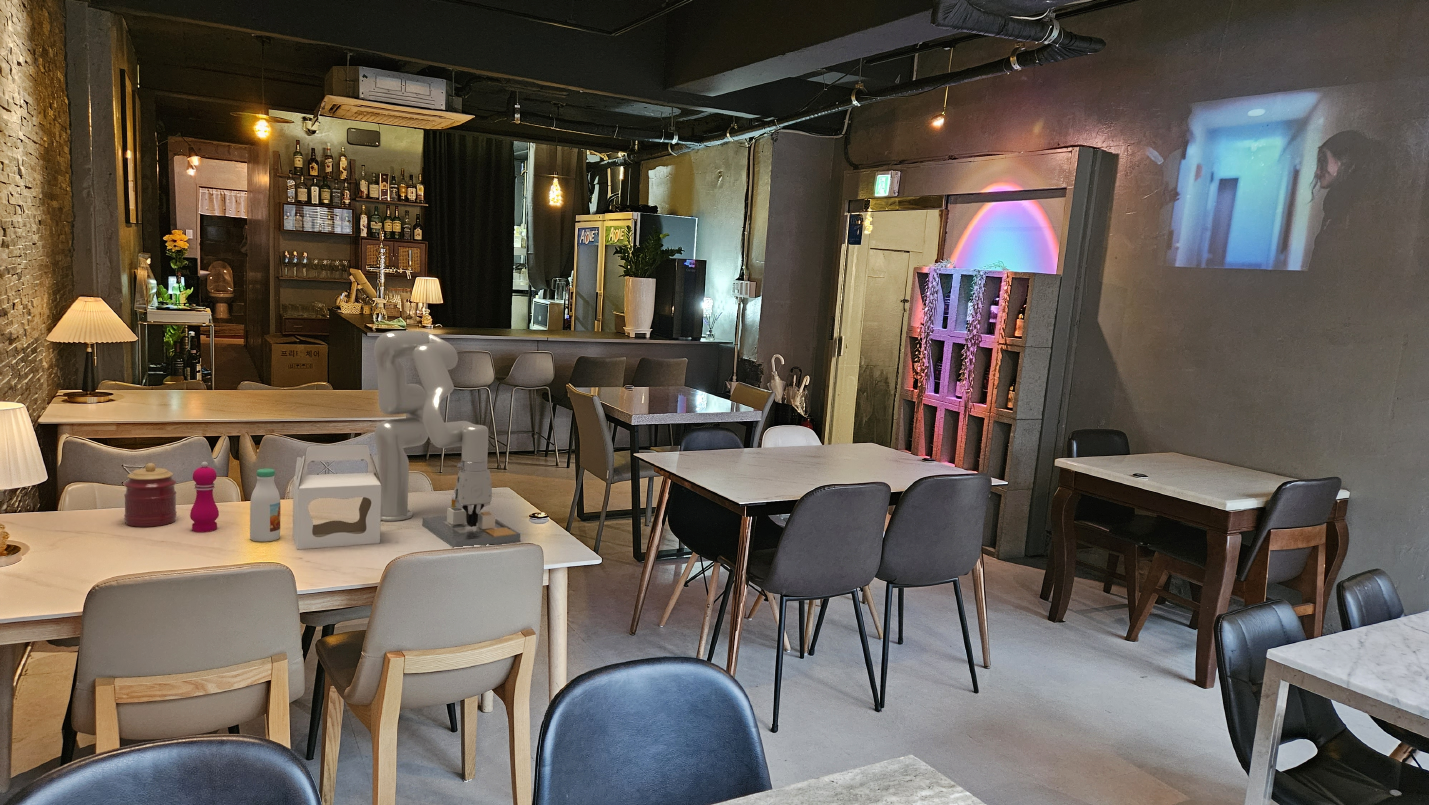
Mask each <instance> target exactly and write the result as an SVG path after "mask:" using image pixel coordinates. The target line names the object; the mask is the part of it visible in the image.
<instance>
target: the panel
mask: <svg viewBox="0 0 1429 805" xmlns="http://www.w3.org/2000/svg"><path fill="white" fill-rule="evenodd" d="M466 519H467V514H466ZM421 520H422V521H421V522H422V523H421V525H422V527H424V528H425V529H427V530H428V531H429V532H431V533H432V534H433V535H435V536H436V537H437V538H439V539H440V540H442V541H443V542H444V543H445V544H448V545H449V546H450V547H451V548H453V547H463V546H474V545H487V544H497V545H501V544H500V543H505V544H511V543H510V542H513V543H520V542H521V533H520V532H519V531H517V530H515V529H514V528H511V527H510V526H508V525H506V524H504V523H503V522H501V521H500V520H498V519H496V518H495V528H489V529H481V528H480V527H478V526H476V527H474V526H473V527H470V526H469V525H468V524H467V522H466V523H465V524H455V525H453V524H451V523H450V522H448V521H447V514H446V515H439V516H427V517H422V519H421Z"/></svg>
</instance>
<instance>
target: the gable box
mask: <svg viewBox="0 0 1429 805" xmlns="http://www.w3.org/2000/svg"><path fill="white" fill-rule="evenodd" d="M305 450H306V452H305V455H303V456H302V457H301V456H297V457H296V461H295V462H296V463H295V471H294V472H295V473H294V476H293V482H292V483H293V490H292V492H293V494H292V495H293V497H292V498H293V499H292V538H293V542H294V544H295V547H296V549H297V550H308V549H309V550H310V549H321V548H324V549H325V548H336V547H337V548H338V547H351V546H359V545H360V546H361V545H362V546H363V545H376V544H381V521H382V520H381V488H382V484H381V482H380V479H379V476H378V473H379V468H378V455H377V454H373V455H372V453H370V447H369V445H368V444H364V443H362V444H361V443H360V444H324V445H323V444H319V445H316V444H315V445H313V444H312V445H308V446H307V447H306V449H305ZM337 461H341V462H342V461H365V462H366V463H367V464H366V467H367V469H366V471H367V472H354V473H353V472H351V473H349V472H348V473H328V474H326V473H324V474H322V473H321V474H308V465H309V464H310V463H315V462H337ZM355 498H362V499H361V502H360V504H359V507H358V513H359V518H358V520H357V521H355V522H354V521H353V522H349V521H343V520H329V521H325V522H321V523H317V524H314V521H313V519H312V518H313V517H312V516H311V513H310V507H309V506H310V503H312V502H313V501H316V500H319V499H338V500H350V499H355Z"/></svg>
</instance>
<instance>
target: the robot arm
mask: <svg viewBox="0 0 1429 805" xmlns="http://www.w3.org/2000/svg"><path fill="white" fill-rule="evenodd" d="M373 355H374V360H375V365H376V371H377V390H378V391H377V392H378V407H379V410H380V411H381V412H382V413H383V414H385V415H389V416H393V415H395V416H396V415H405V417H399V418H393V419H386V420H383V421H381V422H380V423H379V424H377V425H376V427H375V430H374V440H375V446H376V453H377V454H376V455H378V468H379V473H378V476H379V479H380V482H381V484H382V488H381V521H384V522H385V521H387V522H390V521H391V522H396V521H403V520H408V519H410V518H412V517H413V511H412V510H410V509H408V507H409V506H408V505H409V504H408V503H409V476H410V473H409V472H410V471H409V470H410V469H409V468H410V463H409V458H408V456H407V453H406V451H405V448H413V447H416V446H417V447H418V446H422V445H423V444H425V443H426V441H427V440H428V439H429V440H430V442H431V443H432V444H433V446H435V447H437V448H439V449H447V448H453V447H454V448H455V447H461V460H460V462H458V463H456V467H457V468H458V469H460V470H459V471H458V474H457V477H456V483H455V484H456V485H455V488H456V490H455V493H454V494H455V500H456V503H455V507H456V508H460V509H464V510H465V511H466V512H467V519H466V522H467V524H468V525H469V526H470V527H473V526H474V527H476V526H477V523H478V513H480V512H481V510H483V508H484V507H488V506H491V502H492V499H493V489H492V488H493V487H492V484H493V483H492V476H491V470H490V469H488V455H489V454H488V453H489V452H488V450H489V428H488V427H487V426H486V425H482V424H474V423H472V422H470V421H468V420H458V421H448V422H447V421H446V422H444V419H443V416H442V414H441V409H440V406H441V403H442V400H443V399H444V398H446V397H447V396H449V395H450V394H451V393H452V392H453V391H454V388H455V385H454V384H453V383H454V382H453V381H452V378H451V376H450V373H449V371H450V370H452V369H454V368H456V366H457V364H458V363H459V362H458V361H459V354H458V352H457V350H456V349H455V347H454V346H453V345H452V344H451V343H450V342H448V341H445V340H444V339H442V338H441V337H438V336H436V335H435V334H433V333H430V332H429V331H424V330H423V331H422V330H391V331H386V332H383V333H381V335H379V336H378V337H377V339H376V341H375V343H374V348H373ZM403 358H405V359H407V358H408V359H409V358H412V360H413V365H414V367H415V369H416V371H417V374H418V377H419V379H420V383H421V385H422V386H421V385H419V384H417V383H407V372H406V368H405V366H404V364H403V363H402V362H403V361H401V360H400V359H403ZM472 506H473V507H472Z"/></svg>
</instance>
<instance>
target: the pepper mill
mask: <svg viewBox="0 0 1429 805" xmlns="http://www.w3.org/2000/svg"><path fill="white" fill-rule="evenodd" d="M200 466H201V467H198V468H196V469H195V470H193V473H192V479H193V481H194V482H195V484H194V489H195V491H196V496H195V499H194V500H195V501H194V503H193V506H192V507H191V509H190V514H189V518H190V520H191V521H193V523H192V524H191V531H192V532H195V533H208V532H209V533H210V532H213V531H215V530H217V529H218V523H217V522H216V520H217V519H218V518H219V515H220V512H219V509H218V506H217V504H216V502H215V499H214V489H215V488H216V487H215V483H214V482H215V481H216V479H217V472H216V470H215V468H213V467H210V466H209V463H208V462H207V461H203V462H201V464H200Z"/></svg>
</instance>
